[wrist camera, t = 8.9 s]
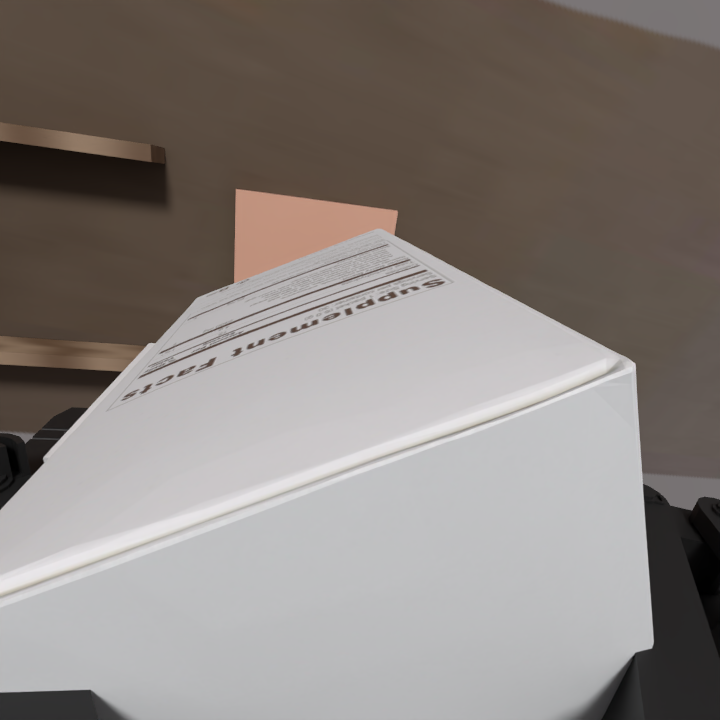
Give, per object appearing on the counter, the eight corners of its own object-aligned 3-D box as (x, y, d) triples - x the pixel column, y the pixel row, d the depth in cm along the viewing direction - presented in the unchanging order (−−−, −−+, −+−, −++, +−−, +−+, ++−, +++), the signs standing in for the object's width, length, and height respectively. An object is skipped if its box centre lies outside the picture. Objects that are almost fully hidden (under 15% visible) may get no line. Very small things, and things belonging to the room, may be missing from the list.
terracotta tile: (234, 341, 35) (233, 345, 34) (237, 188, 31) (236, 189, 30) (373, 351, 37) (375, 355, 36) (395, 210, 33) (398, 211, 32)
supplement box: (438, 395, 21) (680, 768, 8) (275, 455, 22) (232, 928, 8) (386, 220, 18) (676, 349, 4) (189, 294, 18) (-169, 659, 4)
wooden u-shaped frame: (-51, 344, 32) (-134, 383, 26) (-111, 107, 26) (-238, 84, 20) (172, 358, 35) (146, 396, 29) (164, 148, 29) (128, 139, 23)
